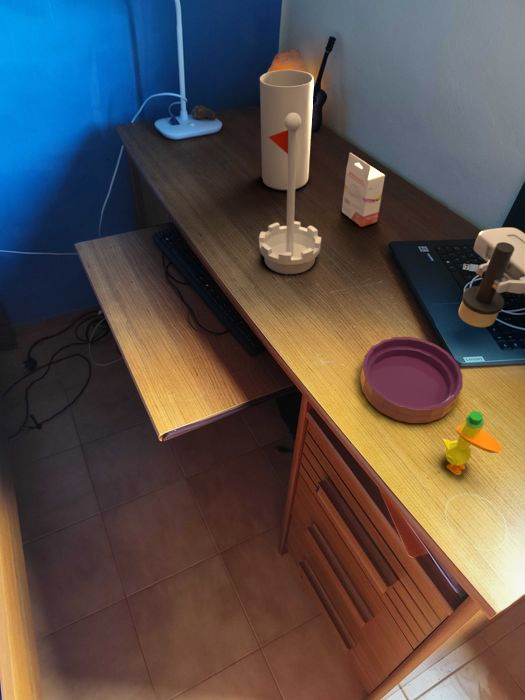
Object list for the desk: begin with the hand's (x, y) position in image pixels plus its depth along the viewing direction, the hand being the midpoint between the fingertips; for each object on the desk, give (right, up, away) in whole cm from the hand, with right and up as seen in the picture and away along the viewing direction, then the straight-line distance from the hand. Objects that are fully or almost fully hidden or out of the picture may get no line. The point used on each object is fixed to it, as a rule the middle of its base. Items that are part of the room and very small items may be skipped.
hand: (487, 279), depth 74 cm
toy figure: (-8, -28, -8) cm, 30 cm away
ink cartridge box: (-12, +21, +39) cm, 46 cm away
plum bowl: (-12, -17, +3) cm, 21 cm away
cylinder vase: (-30, +35, +53) cm, 70 cm away
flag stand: (-30, +9, +28) cm, 42 cm away
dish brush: (+1, -5, +6) cm, 8 cm away
